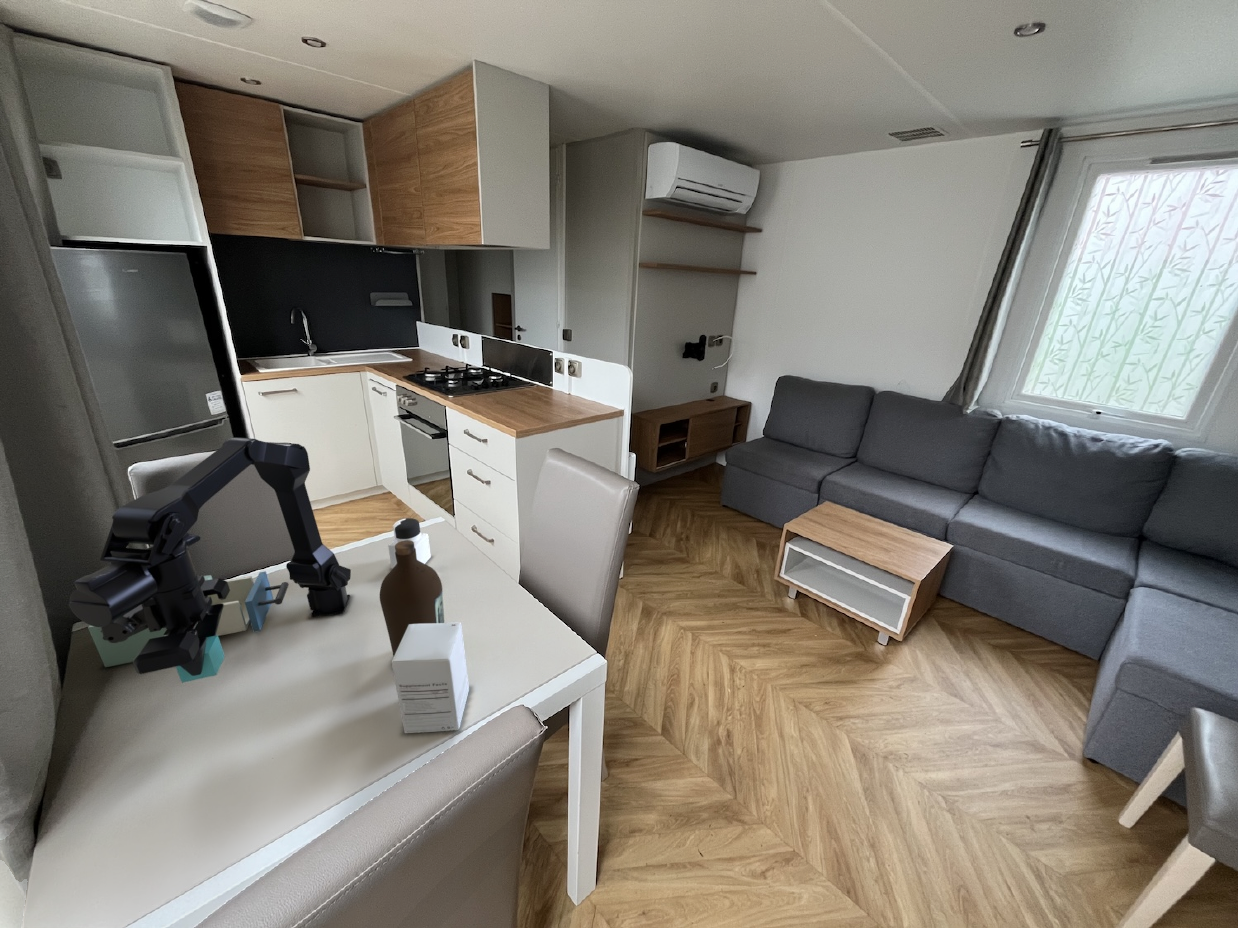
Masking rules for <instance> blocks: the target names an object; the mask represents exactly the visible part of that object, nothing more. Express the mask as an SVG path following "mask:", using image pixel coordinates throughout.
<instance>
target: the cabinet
mask: <svg viewBox="0 0 1238 928" xmlns="http://www.w3.org/2000/svg"><path fill="white" fill-rule="evenodd" d="M204 578H205V580H211V579H213V577H212V575H211V574H209V575H204ZM87 629H88V631H89V633H90V636H91V638H92V641H93V643H94V645H95V647H96V651H97V652H98V654H99V656H100V659H101V661H102V663H103V665H104V668H109V667H114V666H119V665H124V664H130V663H133V660H134V659H135V657H136V656H137V655H138V653H139V652H140V650H141V649H142V647H143V646H144V645H145V644H146V642H147V641H148V640H149V639H152V638H157V637H163V634H164V633H165V631H166V630H167V629H166V628H162V629H161V630H160V631H155V632H150V631H149V628H147V629H145V630H143V631H141V632H139V633H137V634H135V635H132V636H131V637H128V639H127V640H125V641H122V642H118V643H110V642H109V641H106V640H104V639H103V633H102V632H100V631H101V630H102V629H101V627H95V626H91V625H89V626H88V627H87Z"/></svg>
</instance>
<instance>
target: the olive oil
mask: <svg viewBox="0 0 1238 928" xmlns="http://www.w3.org/2000/svg"><path fill="white" fill-rule="evenodd" d="M395 550H396V552H395V555H396V561H397V564H396V565H395V567H394V568H393V569H392V568H391V569H390V571H389V572H388V573H387V574H386V575H385V577H384V578H383V580H382V582H381V584H380V589H379V603H380V606H381V610H382V614H383V618H384V622H385V627H386V629H387V635H388V638H389V642H390V647H391V651H392V656H393V658H394V655H395V653H396V651H397V649H398V647H399V645H400V642H401V640H402V638H403V636H404V634H405V632H406V630H407V627H408V625H409V624H429V623H445V612H444V609H445V608H444V593H443V591H444V590H443V583H442V580H441V578H440V576H439V574H438V573H437V571H436V570H435V569H434V568H433V567H431V566H429V565H428V564H427V563H425V564H424V563H422V562H420V561H418V560H417V557H416V549H415V548H414V542H413V541H410V540H404V541H401V542H398V543H397V544H396V545H395Z"/></svg>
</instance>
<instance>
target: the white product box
mask: <svg viewBox="0 0 1238 928" xmlns="http://www.w3.org/2000/svg"><path fill="white" fill-rule="evenodd" d="M466 659H467V658H466V652H465V643H464V636H463V627H462V622H460V621H456V622H455V621H453V622H444V623H429V624H409V625H408V627H407V630H406V632H405V634H404V636H403V638H402V640H401V642H400V645H399V647H398V649H397V651H396V653H395V655H394V657H393V658H392V660H391V668H392V673H393V679H394V683H395V688H396V694H397V700H398V704H399V705H398V706H399V711H400V716H401V721H402V727H403V732H404V734H416V733H417V734H418V733H419V734H420V733H435V732H436V733H437V732H449V731H450V732H451V731H459V730H460V727H461V724H462V719H463V715H464V711H465V708H466V703H467V700H468V695H469V691H470V684H469V676H468V668H467V660H466Z"/></svg>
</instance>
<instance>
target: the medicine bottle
mask: <svg viewBox="0 0 1238 928" xmlns="http://www.w3.org/2000/svg"><path fill="white" fill-rule="evenodd" d="M392 530H393V535H394V536H393V537H394V539H393V540H392V541H391V542H390V543H389V544H388V545H387V549H388V555H389V560H390V567H391V570H392V569H393V568H394V567H395V565H396V564H397V561H396V555H395V552H396V550H395V545H396V544H397V543H398V542H401V541H404V540H410V541H413V542H414V548H415V549H416V557H417V560H418V561H420V562H422V563H424V564H427V562H428V561H429V560H430V559H431V557H432V554H431V547H430V540H429V538H430V537H429V534H428V533H424V532H423V533H422V532H421V526H420V521H419V520H418V519H416V518H411V517H406V518H402V519H398V520H397V521H396V522H394V524H392Z"/></svg>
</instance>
